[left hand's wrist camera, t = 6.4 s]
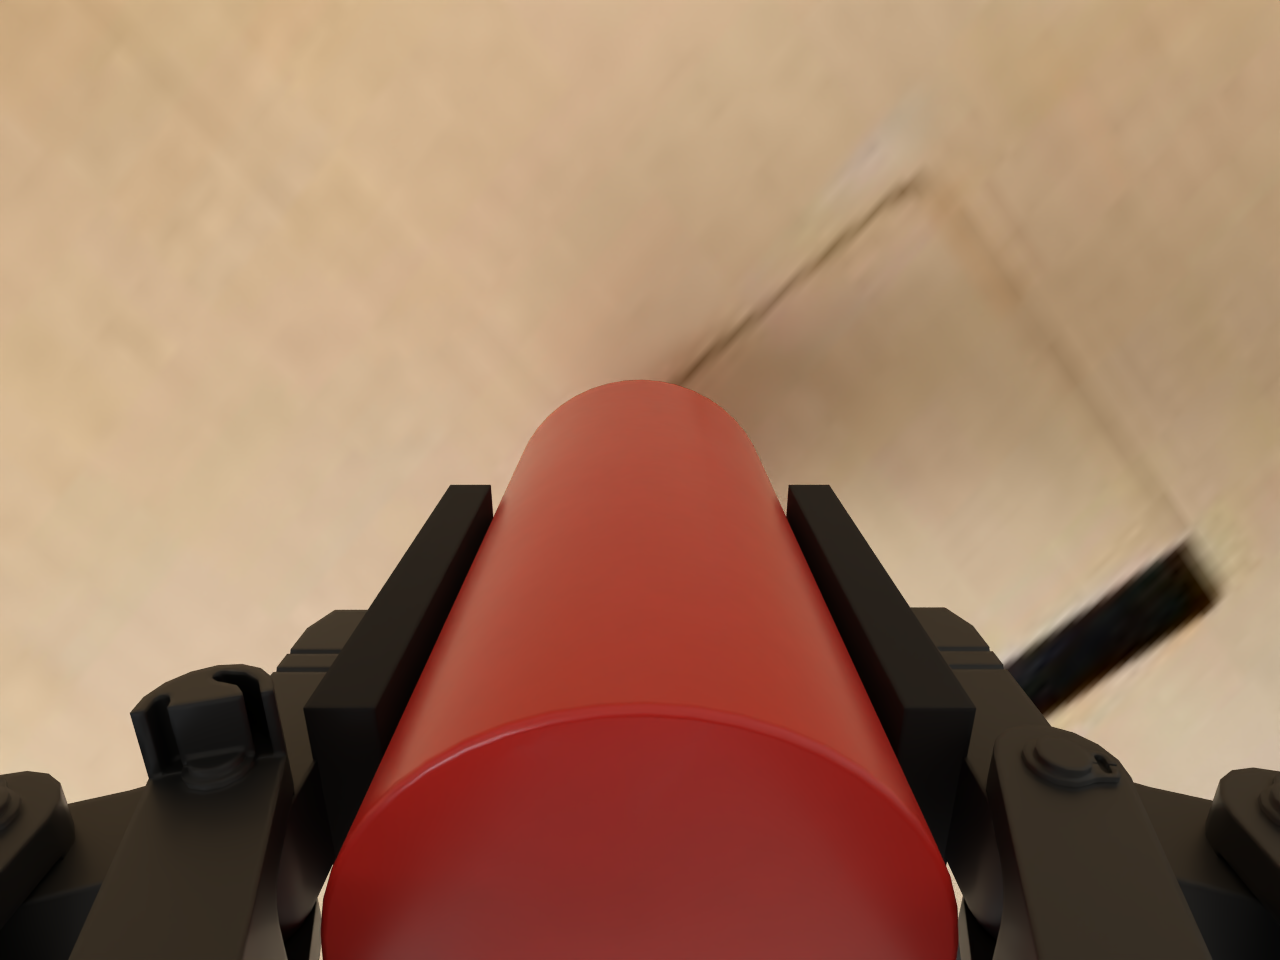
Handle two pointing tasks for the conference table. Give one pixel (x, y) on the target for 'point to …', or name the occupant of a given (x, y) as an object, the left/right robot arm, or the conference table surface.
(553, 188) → the conference table surface
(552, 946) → the can
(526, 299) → the conference table surface
